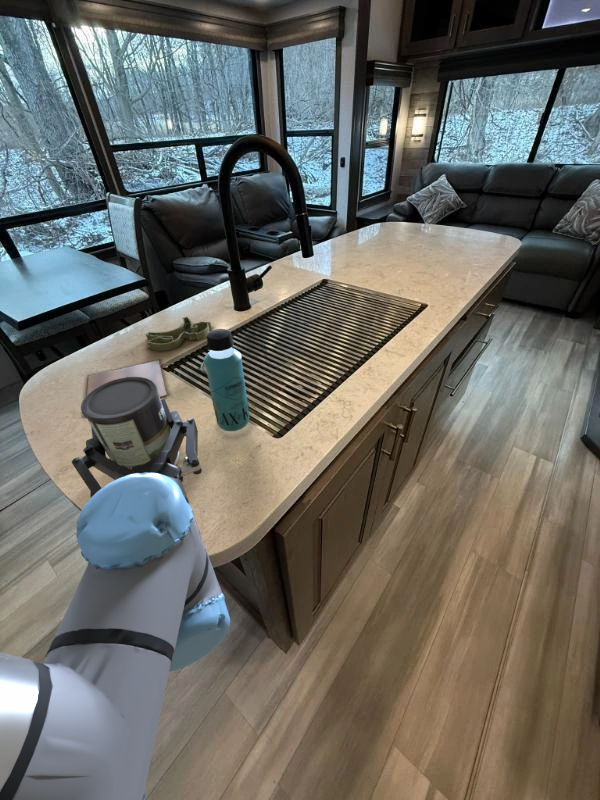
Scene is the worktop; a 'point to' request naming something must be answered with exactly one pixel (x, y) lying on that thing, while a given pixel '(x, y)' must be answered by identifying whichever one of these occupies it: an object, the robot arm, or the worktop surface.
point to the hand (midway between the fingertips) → (131, 415)
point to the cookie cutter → (165, 339)
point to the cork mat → (142, 370)
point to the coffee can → (128, 420)
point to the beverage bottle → (226, 381)
